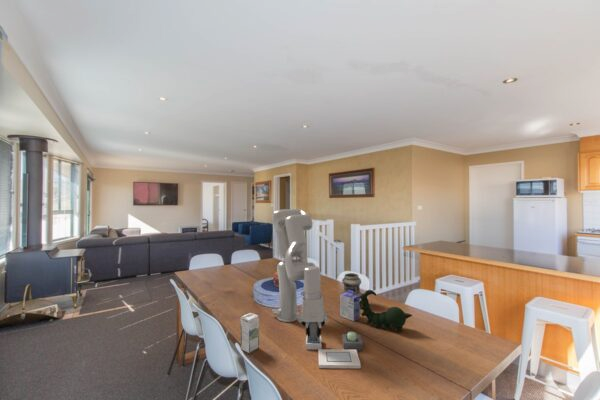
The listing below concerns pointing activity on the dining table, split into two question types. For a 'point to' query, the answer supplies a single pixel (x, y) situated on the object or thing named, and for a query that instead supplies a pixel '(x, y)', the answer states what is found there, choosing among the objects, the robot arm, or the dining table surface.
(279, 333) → the dining table surface
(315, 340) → the marker
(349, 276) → the apothecary jar
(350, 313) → the ink cartridge box
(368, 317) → the toy figurine
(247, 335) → the syrup box
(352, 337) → the button
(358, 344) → the button housing
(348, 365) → the picture board
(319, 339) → the marker holder
